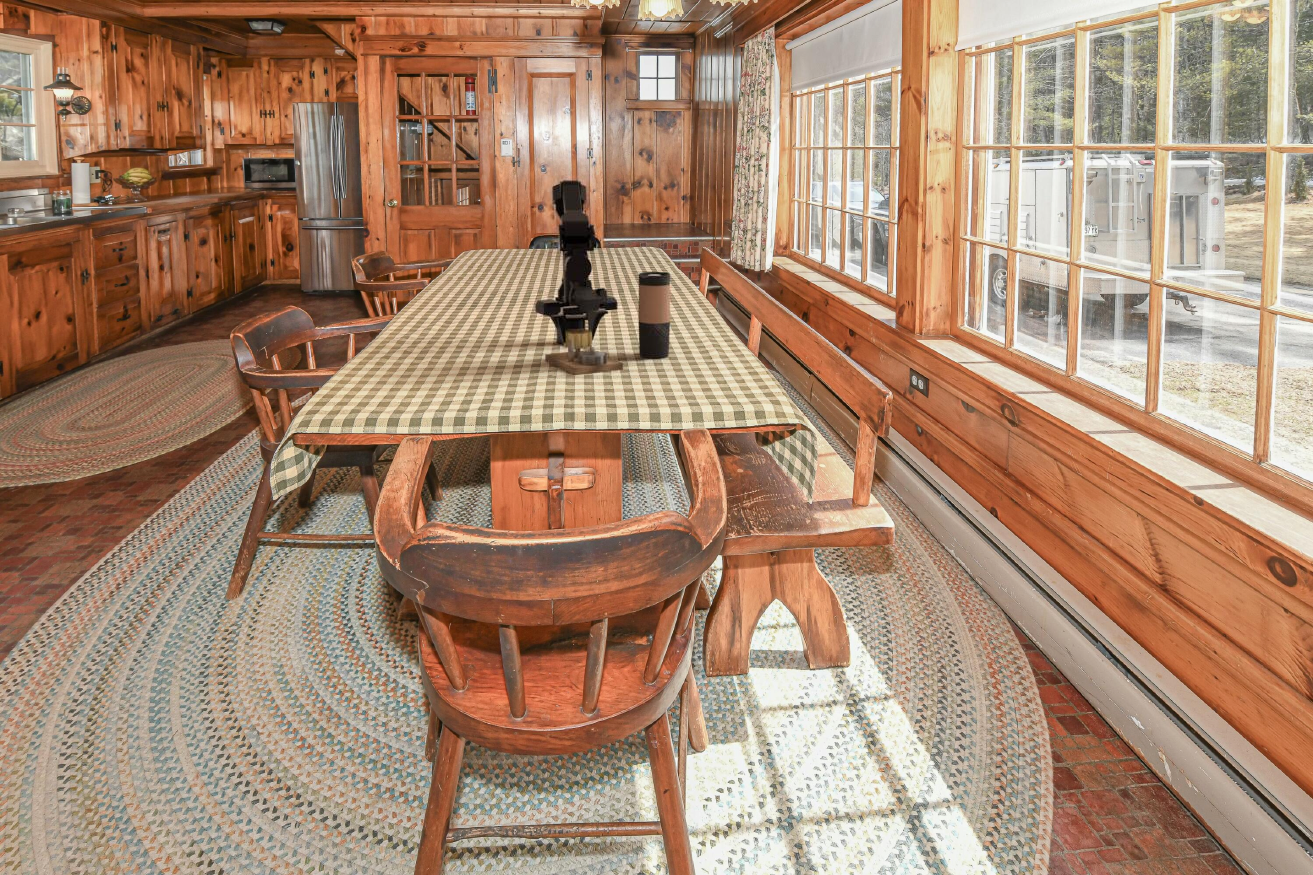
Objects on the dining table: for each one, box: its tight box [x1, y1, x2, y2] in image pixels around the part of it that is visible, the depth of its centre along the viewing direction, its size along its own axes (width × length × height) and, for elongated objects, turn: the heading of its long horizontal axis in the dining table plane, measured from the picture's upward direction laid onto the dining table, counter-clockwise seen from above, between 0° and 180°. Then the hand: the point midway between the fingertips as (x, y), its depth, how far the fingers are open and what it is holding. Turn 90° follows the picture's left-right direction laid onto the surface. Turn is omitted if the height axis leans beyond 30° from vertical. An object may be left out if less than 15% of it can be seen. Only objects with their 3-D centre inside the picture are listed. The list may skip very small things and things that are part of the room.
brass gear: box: [563, 328, 593, 350], centre depth 225 cm, size 7×7×4 cm
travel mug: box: [637, 271, 671, 360], centre depth 231 cm, size 8×8×20 cm
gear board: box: [544, 340, 624, 376], centre depth 223 cm, size 12×17×6 cm
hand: (577, 341), depth 225 cm, fingers closed on brass gear, 7 cm apart
